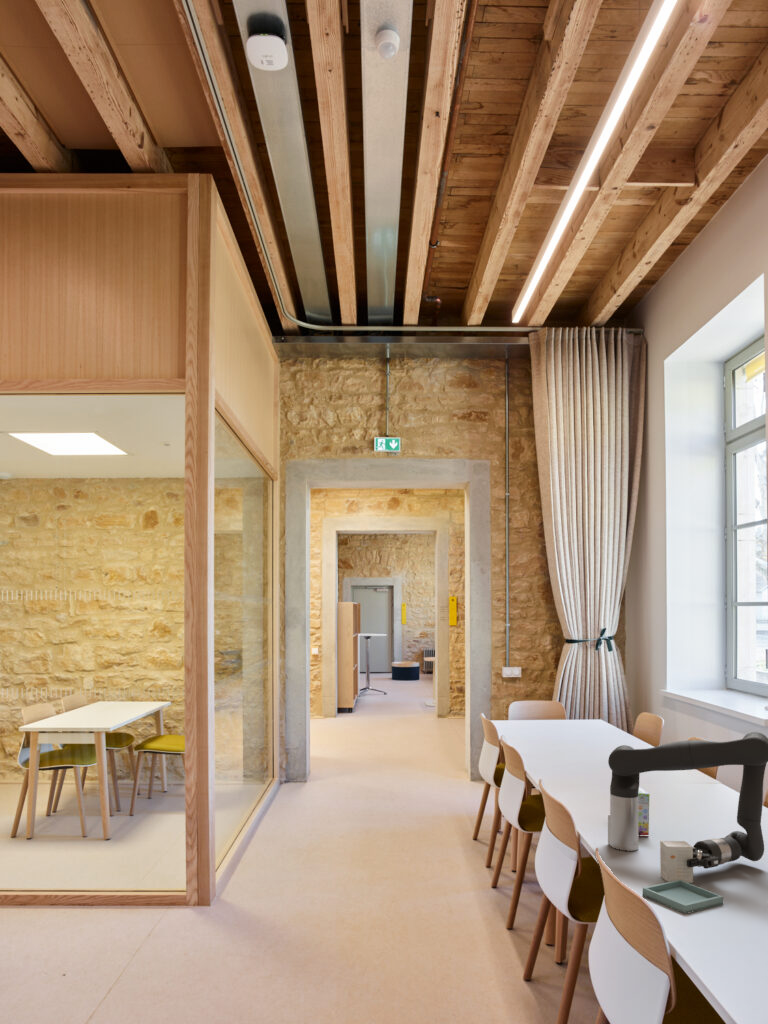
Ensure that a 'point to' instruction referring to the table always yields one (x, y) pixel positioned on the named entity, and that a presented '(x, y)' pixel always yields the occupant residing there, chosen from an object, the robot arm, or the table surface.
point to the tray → (683, 896)
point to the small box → (676, 861)
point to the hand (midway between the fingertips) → (676, 859)
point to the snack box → (643, 812)
